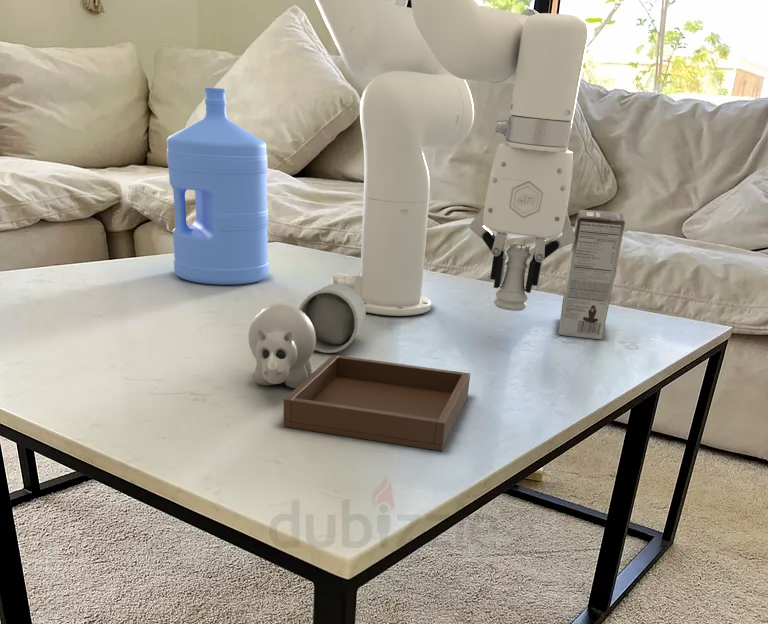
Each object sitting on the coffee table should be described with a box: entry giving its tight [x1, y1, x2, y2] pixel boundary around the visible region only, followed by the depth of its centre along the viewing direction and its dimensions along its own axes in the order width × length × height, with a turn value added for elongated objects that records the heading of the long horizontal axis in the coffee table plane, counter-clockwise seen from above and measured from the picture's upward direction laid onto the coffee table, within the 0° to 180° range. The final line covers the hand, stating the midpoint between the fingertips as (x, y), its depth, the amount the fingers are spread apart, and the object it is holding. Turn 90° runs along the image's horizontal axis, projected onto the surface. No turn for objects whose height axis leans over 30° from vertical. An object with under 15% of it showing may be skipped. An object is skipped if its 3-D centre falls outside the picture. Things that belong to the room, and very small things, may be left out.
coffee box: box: [558, 209, 626, 340], centre depth 111 cm, size 9×6×16 cm
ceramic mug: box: [298, 283, 367, 354], centre depth 99 cm, size 11×8×8 cm
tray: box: [283, 354, 471, 452], centre depth 80 cm, size 16×16×3 cm
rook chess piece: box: [493, 242, 532, 312], centre depth 102 cm, size 4×4×8 cm
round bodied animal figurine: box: [247, 303, 316, 389], centre depth 82 cm, size 7×12×8 cm, turn 177°
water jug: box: [166, 87, 270, 286], centre depth 125 cm, size 16×16×28 cm
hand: (513, 286), depth 103 cm, fingers closed on rook chess piece, 3 cm apart
